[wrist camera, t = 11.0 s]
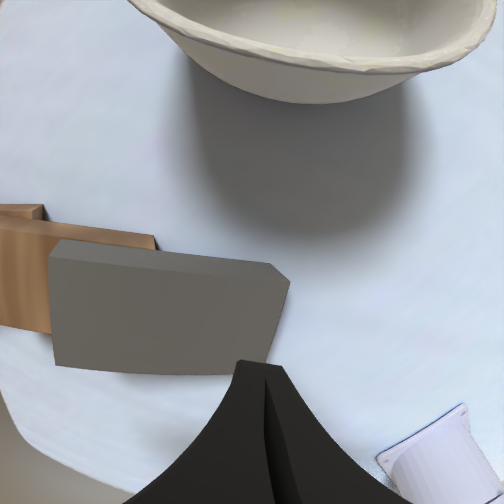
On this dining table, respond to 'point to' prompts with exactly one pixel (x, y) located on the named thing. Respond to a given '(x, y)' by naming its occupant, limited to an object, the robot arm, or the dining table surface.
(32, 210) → the domino
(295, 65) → the teacup
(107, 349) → the domino
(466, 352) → the dining table surface
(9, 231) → the domino
